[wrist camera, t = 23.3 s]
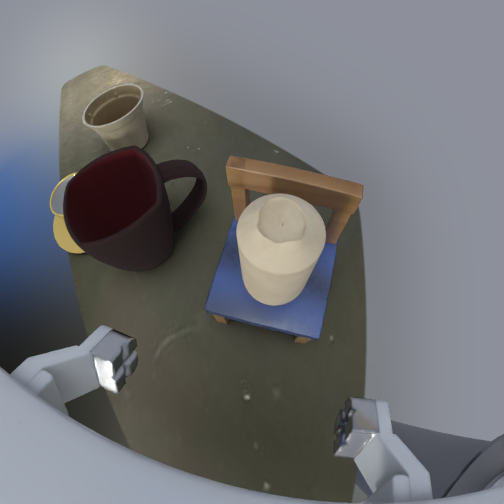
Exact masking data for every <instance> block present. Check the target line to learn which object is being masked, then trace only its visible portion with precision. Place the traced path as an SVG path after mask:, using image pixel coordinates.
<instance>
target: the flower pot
mask: <svg viewBox="0 0 504 504" xmlns="http://www.w3.org/2000/svg"><path fill="white" fill-rule="evenodd" d="M143 97H144V92H143V89H142V88H141V87H140V86H138V85H136V84H122V85H118V86H115V87H112V88H110V89H108V90H106V91H104V92H102V93H101V94H99V95H98V96H96V97H95V98H94V99H93V100H92V101H91V102H90V103H89V104H88V106H87V107H86V109H85V110H84V113H83V118H82V119H83V122H84V124H85V125H86V126H87V127H89V128H91V129H92V130H94V131H95V132H97V133H98V135H99V136H100V137H101V138H102V139H103V141H104V142H105V143H106V144H107V145H108V147H109V148H110V149H111V150H112V151H114V150H117V149H120V148H124V147H128V146H133V145H135V146H138V147H140V148H141V149H142V148H143V147H144V146H145V145H146V143H147V141H148V132H147V128H146V123H145V118H144V112H143V107H142V106H143Z"/></svg>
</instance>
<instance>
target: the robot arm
mask: <svg viewBox="0 0 504 504" xmlns="http://www.w3.org/2000/svg"><path fill="white" fill-rule="evenodd" d="M136 347H137V342H136V339H135V338H133V337H130V336H128V335H126V334H123V333H121V332H119V331H116V330H114V329H112V328H109V327H107V326H105V325H102V326H100V327H99V328H98V329H96V330H95V331H94V332H93V333H92V334H91V335H90V336H89V337H88V338H87V339H86V340H85V341H84V342H83V343H82V344H81V345H80V346H79V347H78V346H72V347H68V348H64V349H60V350H56V351H53V352H49V353H45V354H41V355H37V356H33V357H29V358H27V359H26V360H25V361H24V362H23V363H22V364H21V365H20V366H19V367H18V368H17V369H15V370H14V371H13V372H12V373H11V374H8V373H7V372H6V371H5V370H4V369H2V368H1V367H0V504H504V472H502V473H500V474H499V475H497V476H496V477H495V478H494V479H493V480H491V481H490V482H489V483H488V484H487V485H486V486H485V488H484V489H483V490H482V491H478V492H473V493H469V494H464V495H458V496H452V497H446V498H439V499H433V496H432V488H431V481H430V474H429V472H428V471H427V470H426V469H425V467H424V466H423V465H422V464H421V463H420V462H419V460H418V459H417V458H416V457H415V456H414V455H413V454H412V452H411V451H410V450H409V449H408V448H407V447H406V445H405V444H404V443H403V442H402V441H401V440H400V438H399V437H398V436H397V435H396V434H393V432H392V425H391V419H390V414H389V407H388V403H387V401H381V400H372V399H364V398H357V397H348V398H347V400H346V401H345V408H343V409H341V410H340V411H339V413H338V415H337V417H336V420H335V425H334V433H335V435H336V436H337V438H336V439H335V441H334V447H333V456H339V457H346V458H354V461H355V463H356V464H357V466H358V468H359V470H360V471H361V473H362V475H363V477H364V478H365V480H366V482H367V484H368V485H369V487H370V489H371V491H372V492H373V494H371V495H370V496H369V497H367V498H366V499H365V500H363V501H362V502H361V503H341V502H326V501H315V500H306V499H298V498H291V497H285V496H279V495H273V494H268V493H262V492H258V491H253V490H248V489H244V488H240V487H236V486H232V485H228V484H224V483H220V482H217V481H213V480H210V479H207V478H203V477H200V476H197V475H194V474H191V473H188V472H185V471H182V470H179V469H177V468H174V467H171V466H169V465H166V464H163V463H161V462H158V461H156V460H153V459H151V458H149V457H146V456H144V455H142V454H139V453H137V452H135V451H133V450H130V449H128V448H126V447H124V446H122V445H120V444H118V443H116V442H114V441H112V440H110V439H108V438H106V437H104V436H102V435H100V434H98V433H96V432H95V431H93V430H91V429H89V428H87V427H86V426H84V425H82V424H80V423H79V422H77V421H75V420H74V419H72V418H70V417H69V416H68V412H67V409H66V407H65V405H64V403H65V402H68V401H70V400H72V399H74V398H77V397H79V396H81V395H83V394H85V393H87V392H90V391H92V390H94V389H96V388H98V387H100V386H101V387H103V388H106V389H108V390H110V391H112V392H114V393H117V394H118V393H119V392H120V390H121V389H122V388H123V386H124V385H125V384H126V380H125V378H126V377H129V376H132V374H133V373H134V371H135V369H136V367H137V363H138V354H137V353H136V351H135V350H134V349H135V348H136Z"/></svg>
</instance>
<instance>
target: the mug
mask: <svg viewBox="0 0 504 504" xmlns="http://www.w3.org/2000/svg"><path fill="white" fill-rule="evenodd" d="M181 177H196V178H197V179H196V183H195V185H194V187H193V189H192V191H191V192H190V194H189V195H188V196H187V198H186V199H185V200H184V201H183V202H182V204H181V205H180V206H179V207H178V208H177V209H176V210H175V211H174V212H172V213H171V210H170V205H169V200H168V196H167V192H166V189H165V186H164V183H165V182H167V181H170V180H173V179H176V178H181ZM206 193H207V183H206V180H205V178H204V175H203V173H202V172H201V171H200V170H199V169H198V168H197V167H196V166H195V165H194V164H193V163H191V162H189V161H186V160H170V161H166V162H162V163H159V164H157V165H156V164H155V162H154V160H153V159H152V158H151V156H150V155H149V154H148V153H147V152H146V151H144V150H143V149H141V148H140V147H138V146H135V145H133V146H128V147H124V148H120V149H117V150H114V151H111V152H109V153H107V154H104V155H102V156H101V157H99V158H97V159H95V160H94V161H92V162H90V163H89V164H88V165H86V166H85V167H84V168H82V169H81V170H80V171H79V172H78V173H77V174H75V175H74V176H73V177H72V178H71V180H70V181H69V182H68V183H67V185H66V189H65V192H64V198H63V216H64V221H65V225H66V228H67V230H68V232H69V234H70V236H71V238H72V239H73V241H74V242H75V243H76V244H77V245H78V246H79V247H80V248H81V249H82V250H83V251H85V252H86V253H87V254H89V255H90V256H92V257H93V258H95V259H97V260H99V261H101V262H103V263H105V264H108V265H111V266H113V267H116V268H119V269H123V270H128V271H145V270H149V269H152V268H154V267H156V266H158V265H160V264H161V263H163V262H164V261H165V260H166V259H167V258H168V257H169V256H170V255H171V254H172V253H173V248H174V233H175V232H177V231H178V230H180V229H181V228H182V227H183V226H184V225H185V224H186V223H187V222H188V221H189V220H190V219H191V218H192V217H193V216H194V215H195V213H196V212H197V211H198V210H199V208H200V207H201V205H202V204H203V202H204V200H205V197H206Z"/></svg>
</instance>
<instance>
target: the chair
mask: <svg viewBox="0 0 504 504" xmlns="http://www.w3.org/2000/svg"><path fill="white" fill-rule="evenodd" d="M226 173H227V180H228V185H229V186H231V192H232V199H233V207H234V214H235V216H234V219H233V222H232V225H231V228H230V231H229V234H228V237H227V240H226V243H225V246H224V249H223V252H222V255H221V258H220V262H219V265H218V268H217V271H216V274H215V277H214V280H213V283H212V286H211V289H210V293H209V296H208V299H207V302H206V305H205V308H204V310H205V311H206V312H207V313H211V314H212V315H213V316H214V318H215V319H216V320H217V322H220V323H223V324H227V325H228V323H229V320H230V319H232V320H236V321H240V322H243V323H247V324H251V325H255V326H259V327H263V328H267V329H271V330H275V331H279V332H283V333H288V334H292V335H296V336H295V340H294V341H295V342H299V343H303V344H305V343H307V342H308V341H310V340H311V339H314V340H317V339H319V338H320V333H321V328H322V324H323V319H324V314H325V309H326V304H327V299H328V294H329V289H330V283H331V278H332V272H333V266H334V261H335V254H336V248H337V242H338V238H339V236H340V234H341V232H342V230H343V229H344V227H345V225H346V223H347V221H348V219H349V217H350V215H351V214H354V213H355V211H356V209H357V207H358V205H359V203H360V202H361V200H362V198H363V185H361V184H358V183H355V182H351V181H347V180H342V179H339V178H334V177H330V176H327V175H323V174H318V173H314V172H310V171H306V170H301V169H297V168H292V167H288V166H283V165H278V164H274V163H269V162H264V161H258V160H253V159H248V158H242V157H237V156H230V157H229V160H228V162H227V165H226ZM249 190H253V191H257V192H262V193H267V194H289V195H293V196H296V197H299V198H301V199H303V200H305V201H307V202H308V203H310V204H315V205H319V206H323V207H327V208H331V209H334V210H333V212H332V215H331V217H330V219H329V222H328V224H327V226H326V229H325V230H326V240H325V245H324V248H323V250H322V253H321V255H320V257H319V259H318V261H317V263H316V265H315V267H314V269H313V271H312V273H311V275H310V277H309V279H308V281H307V283H306V285H305V286H304V288H303V290H302V291H301V293H300V294H299V295H298V296H297V297H296V298H295V299H294V300H292V301H291V302H288V303H286V304H283V305H278V306H272V305H266V304H263V303H261V302H259V301H257V300H256V299H254V298H253V297H252V296H251V295H250V294H249V292H248V291H247V289H246V287H245V285H244V282H243V277H242V270H241V264H240V257H239V250H238V242H237V235H236V230H237V224H238V220H239V218H240V216H241V214H242V212H243V211H244V210H245V208H246V207H247V206H248V205H249V204H250V192H249Z"/></svg>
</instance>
